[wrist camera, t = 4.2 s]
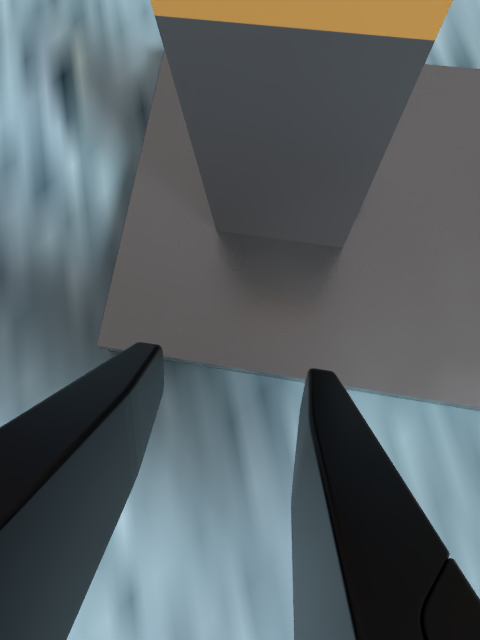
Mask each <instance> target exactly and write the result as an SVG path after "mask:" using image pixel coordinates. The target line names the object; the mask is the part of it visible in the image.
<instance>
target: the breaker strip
mask: <svg viewBox="0 0 480 640" xmlns="http://www.w3.org/2000/svg"><path fill="white" fill-rule="evenodd" d="M137 342H144V343H151V344H158V345H160V346H161V347H162V350H163V360H169V361H176V362H182V363H188V364H194V365H200V366H206V367H212V368H219V369H225V370H231V371H237V372H243V373H249V374H256V375H262V376H268V377H274V378H280V379H286V380H293V381H299V382H306V377H307V373H308V370H309V369H311V368H316V369H323V370H329V371H333V372H334V373H335V374H336V375H337V377H338V379H339V380H340V382H341V383H342V385H343V386H344V388H345V389H348V390H354V391H360V392H366V393H373V394H379V395H385V396H391V397H397V398H403V399H410V400H416V401H422V402H428V403H434V404H440V405H447V406H453V407H459V408H465V409H471V410H477V411H480V69H470V68H459V67H448V66H438V65H427V64H424V66H423V68H422V71H421V73H420V75H419V77H418V80H417V82H416V84H415V86H414V89H413V91H412V93H411V95H410V98H409V100H408V102H407V104H406V107H405V109H404V111H403V114H402V116H401V118H400V120H399V123H398V125H397V127H396V129H395V132H394V134H393V136H392V138H391V141H390V143H389V145H388V147H387V150H386V152H385V154H384V156H383V159H382V161H381V163H380V165H379V168H378V170H377V172H376V174H375V177H374V179H373V181H372V183H371V186H370V188H369V190H368V192H367V195H366V197H365V199H364V201H363V204H362V206H361V208H360V210H359V213H358V215H357V217H356V219H355V222H354V224H353V226H352V229H351V231H350V233H349V235H348V238H347V240H346V242H345V244H344V247H343V248H342V247H335V246H327V245H320V244H312V243H305V242H297V241H290V240H282V239H275V238H267V237H260V236H252V235H245V234H237V233H230V232H222V231H216V228H215V224H214V221H213V217H212V214H211V210H210V207H209V203H208V200H207V196H206V193H205V189H204V186H203V182H202V179H201V175H200V172H199V168H198V165H197V161H196V158H195V154H194V151H193V147H192V144H191V140H190V137H189V133H188V130H187V126H186V123H185V119H184V116H183V112H182V109H181V105H180V102H179V98H178V95H177V91H176V88H175V84H174V81H173V77H172V74H171V70H170V67H169V63H168V60H167V56H166V53H165V49H164V54H163V58H162V62H161V67H160V71H159V75H158V80H157V84H156V88H155V93H154V97H153V102H152V106H151V110H150V115H149V119H148V123H147V128H146V132H145V136H144V141H143V145H142V149H141V154H140V158H139V163H138V167H137V171H136V176H135V180H134V184H133V189H132V193H131V197H130V202H129V206H128V211H127V215H126V219H125V224H124V228H123V232H122V237H121V241H120V245H119V250H118V254H117V258H116V263H115V267H114V272H113V276H112V280H111V285H110V289H109V293H108V298H107V302H106V306H105V311H104V315H103V319H102V324H101V328H100V333H99V337H98V341H97V346H99V347H102V348H104V349H107V350H109V351H114V352H122V351H124V350H125V349H127V348H129V347H130V346H132V345H133V344H135V343H137Z"/></svg>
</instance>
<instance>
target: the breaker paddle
mask: <svg viewBox="0 0 480 640" xmlns="http://www.w3.org/2000/svg"><path fill="white" fill-rule="evenodd" d="M452 1H453V0H151V4H152V7H153V11H154V14H155V18H156V21H157V25H158V28H159V32H160V35H161V39H162V42H163V46H164V49H165V53H166V56H167V60H168V63H169V67H170V70H171V74H172V77H173V81H174V84H175V88H176V91H177V95H178V98H179V102H180V105H181V109H182V112H183V116H184V119H185V123H186V126H187V130H188V133H189V137H190V140H191V144H192V147H193V151H194V154H195V158H196V161H197V165H198V168H199V172H200V175H201V179H202V182H203V186H204V189H205V193H206V196H207V200H208V203H209V207H210V210H211V214H212V217H213V221H214V224H215V228H216V231H222V232H230V233H237V234H245V235H252V236H260V237H267V238H275V239H282V240H290V241H297V242H305V243H312V244H320V245H327V246H335V247H342V248H343V247H344V244H345V242H346V240H347V238H348V235H349V233H350V231H351V229H352V226H353V224H354V222H355V219H356V217H357V215H358V213H359V210H360V208H361V206H362V204H363V201H364V199H365V197H366V195H367V192H368V190H369V188H370V186H371V183H372V181H373V179H374V177H375V174H376V172H377V170H378V168H379V165H380V163H381V161H382V159H383V156H384V154H385V152H386V150H387V147H388V145H389V143H390V141H391V138H392V136H393V134H394V132H395V129H396V127H397V125H398V123H399V120H400V118H401V116H402V114H403V111H404V109H405V107H406V104H407V102H408V100H409V98H410V95H411V93H412V91H413V89H414V86H415V84H416V82H417V80H418V77H419V75H420V73H421V71H422V68H423V66H424V64H425V62H426V59H427V57H428V55H429V53H430V50H431V48H432V46H433V44H434V41H435V39H436V37H437V35H438V32H439V30H440V28H441V26H442V23H443V21H444V19H445V17H446V14H447V12H448V10H449V8H450V5H451V3H452Z"/></svg>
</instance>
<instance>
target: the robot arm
mask: <svg viewBox="0 0 480 640" xmlns="http://www.w3.org/2000/svg"><path fill="white" fill-rule="evenodd" d="M163 388H164V364H163V350H162V347H161V346H160V345H158V344H151V343H144V342H137V343H135V344H133V345H132V346H130V347H129V348H127V349H125V350H124V351H122V352H120V353H119V354H117V355H116V356H114V357H112V358H111V359H109V360H108V361H106V362H104V363H103V364H101V365H100V366H98V367H96V368H95V369H93V370H92V371H90V372H88V373H87V374H85V375H84V376H82V377H80V378H79V379H77V380H76V381H74V382H72V383H71V384H69V385H68V386H66V387H64V388H63V389H61V390H60V391H58V392H56V393H55V394H53V395H52V396H50V397H48V398H47V399H45V400H44V401H42V402H40V403H39V404H37V405H35V406H34V407H32V408H31V409H29V410H27V411H26V412H24V413H23V414H21V415H19V416H18V417H16V418H15V419H13V420H11V421H10V422H8V423H7V424H5V425H3V426H2V427H0V640H67V637H68V635H69V633H70V630H71V628H72V626H73V623H74V621H75V619H76V617H77V614H78V612H79V610H80V607H81V605H82V603H83V600H84V598H85V596H86V593H87V591H88V589H89V587H90V584H91V582H92V580H93V577H94V575H95V573H96V570H97V568H98V566H99V564H100V561H101V559H102V557H103V554H104V552H105V550H106V547H107V545H108V543H109V541H110V538H111V536H112V534H113V531H114V529H115V527H116V524H117V522H118V520H119V518H120V515H121V513H122V511H123V508H124V506H125V504H126V501H127V499H128V497H129V495H130V492H131V490H132V488H133V485H134V483H135V480H136V478H137V475H138V473H139V469H140V466H141V463H142V460H143V457H144V454H145V450H146V447H147V444H148V440H149V437H150V434H151V430H152V427H153V424H154V420H155V417H156V414H157V410H158V407H159V404H160V400H161V397H162V393H163ZM291 522H292V564H293V605H294V640H480V599H479V597H478V596H477V594H476V593H475V591H474V590H473V588H472V587H471V585H470V584H469V582H468V581H467V579H466V578H465V576H464V574H463V573H462V571H461V570H460V568H459V567H458V565H457V563H456V562H455V560H454V559H452V558H449V555H450V554H449V551H448V550H447V548H446V546H445V545H444V543H443V542H442V540H441V539H440V537H439V536H438V534H437V532H436V531H435V529H434V528H433V526H432V525H431V523H430V521H429V520H428V518H427V517H426V515H425V514H424V512H423V510H422V509H421V507H420V506H419V504H418V503H417V501H416V499H415V498H414V496H413V495H412V493H411V492H410V490H409V488H408V487H407V485H406V484H405V482H404V481H403V479H402V477H401V476H400V474H399V473H398V471H397V470H396V468H395V466H394V465H393V463H392V462H391V460H390V459H389V457H388V455H387V454H386V452H385V451H384V449H383V448H382V446H381V445H380V443H379V441H378V440H377V438H376V437H375V435H374V434H373V432H372V430H371V429H370V427H369V426H368V424H367V423H366V421H365V419H364V418H363V416H362V415H361V413H360V412H359V410H358V408H357V407H356V405H355V404H354V402H353V401H352V399H351V397H350V396H349V394H348V393H347V391H346V390H345V388H344V386H343V385H342V383H341V382H340V380H339V379H338V377H337V375H336V374H335V373H334V372H333V371H329V370H323V369H316V368H311V369H309V370H308V373H307V377H306V382H305V387H304V392H303V397H302V402H301V408H300V415H299V425H298V435H297V445H296V455H295V465H294V475H293V485H292V499H291ZM448 558H449V559H448ZM447 559H448V560H447Z"/></svg>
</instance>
